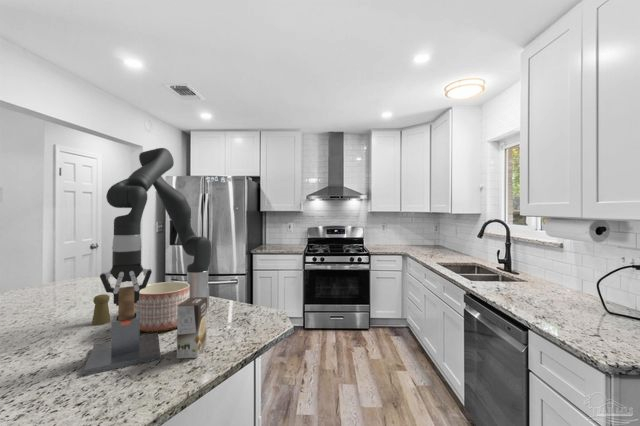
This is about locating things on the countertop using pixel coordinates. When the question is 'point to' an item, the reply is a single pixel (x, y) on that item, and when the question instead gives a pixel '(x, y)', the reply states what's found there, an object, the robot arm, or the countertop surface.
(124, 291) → the stand post
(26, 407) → the countertop surface
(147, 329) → the planter
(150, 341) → the stand base
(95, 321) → the cork
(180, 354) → the coffee box
